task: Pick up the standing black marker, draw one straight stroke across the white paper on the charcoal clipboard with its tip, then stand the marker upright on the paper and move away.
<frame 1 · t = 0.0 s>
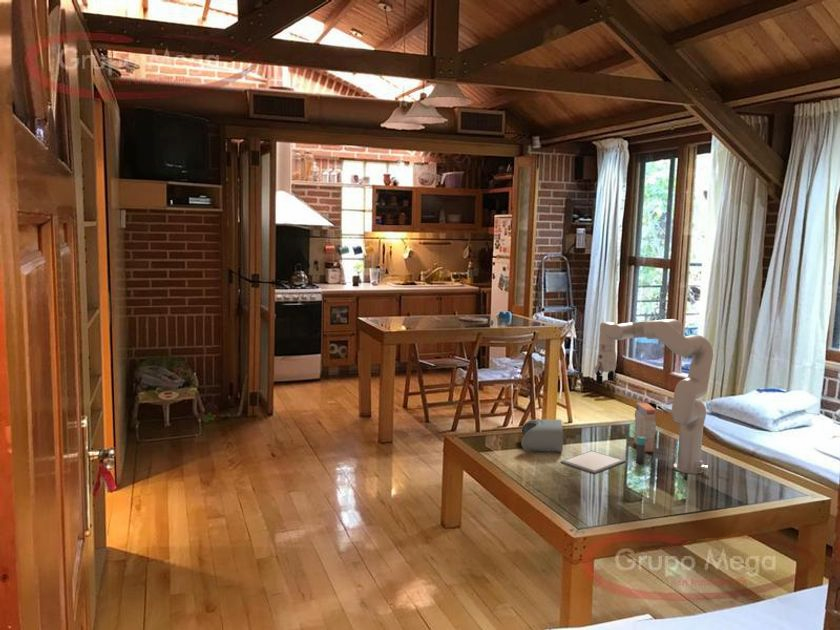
hand: (604, 382, 336), 31 cm above the table, tool pointing down, fingers open, 9 cm apart
notepad: (593, 462, 314), on the table
cracker box: (643, 448, 336), on the table
glass holder: (643, 433, 361), on the table
grey rounded block: (541, 448, 333), on the table
marker: (639, 463, 314), on the table
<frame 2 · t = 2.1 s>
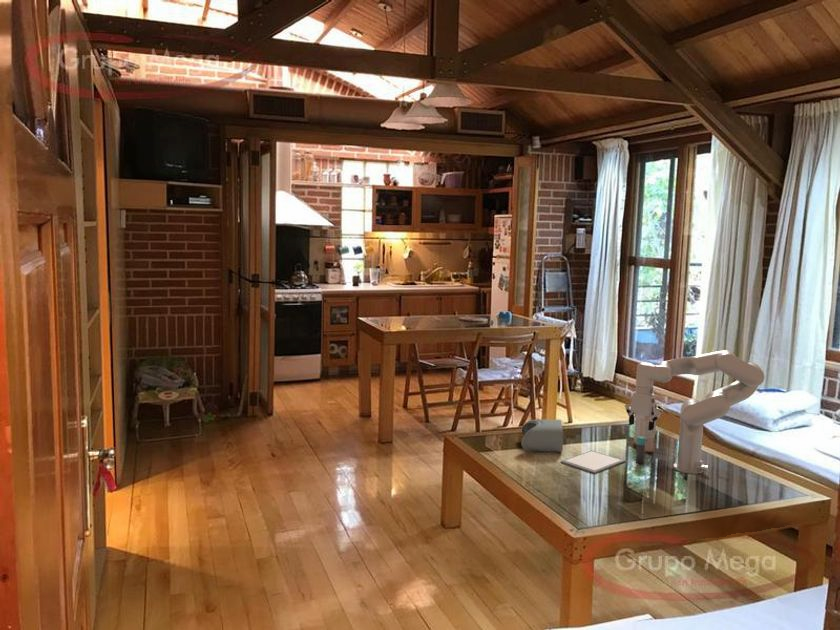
hand: (641, 427, 312), 17 cm above the table, tool pointing down, fingers open, 9 cm apart
nothing on the table moved.
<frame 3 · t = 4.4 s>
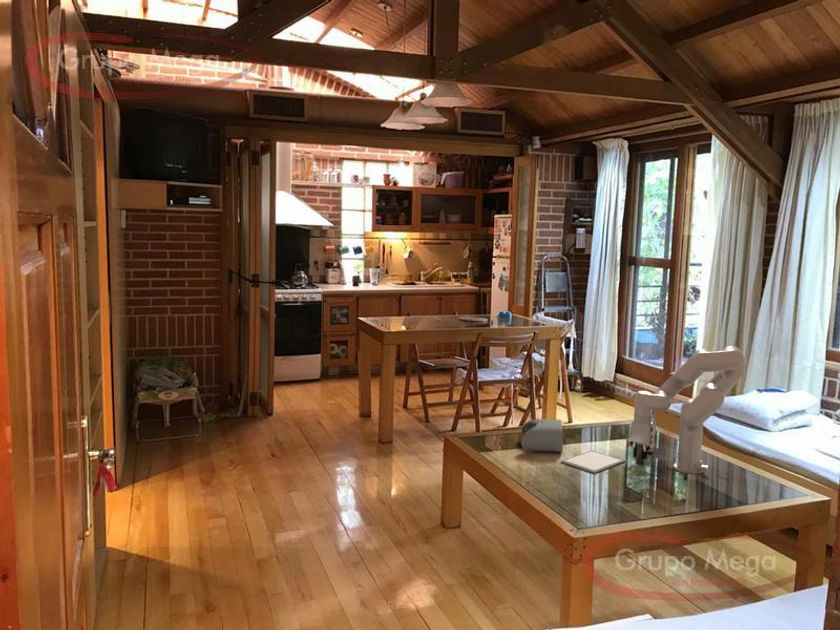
hand: (640, 457, 313), 3 cm above the table, tool pointing down, fingers closed on marker, 3 cm apart
marker: (639, 463, 314), on the table, touching gripper
everything else where it was.
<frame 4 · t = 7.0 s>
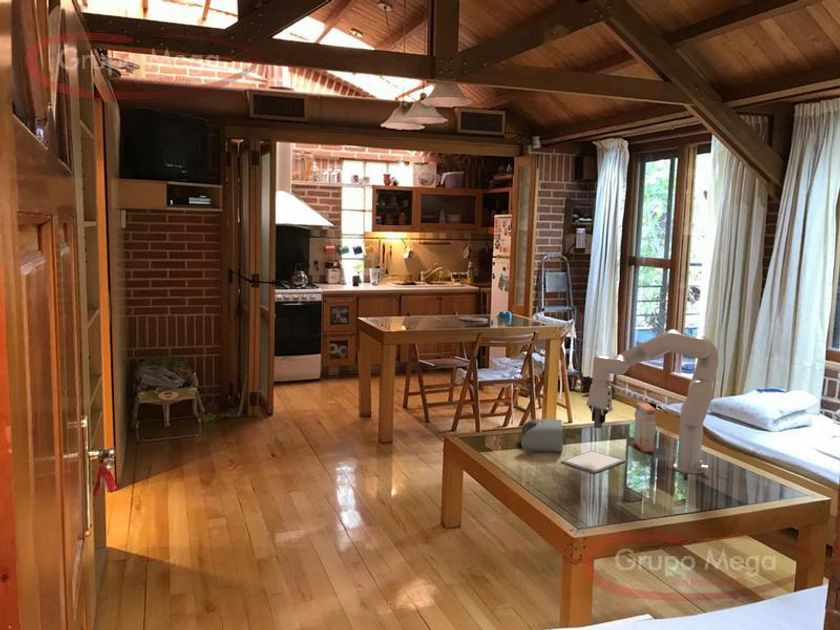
hand: (598, 421, 318), 17 cm above the table, tool pointing down, fingers closed on marker, 3 cm apart
marker: (597, 427, 319), point 15 cm above the table, touching gripper
everything else where it was.
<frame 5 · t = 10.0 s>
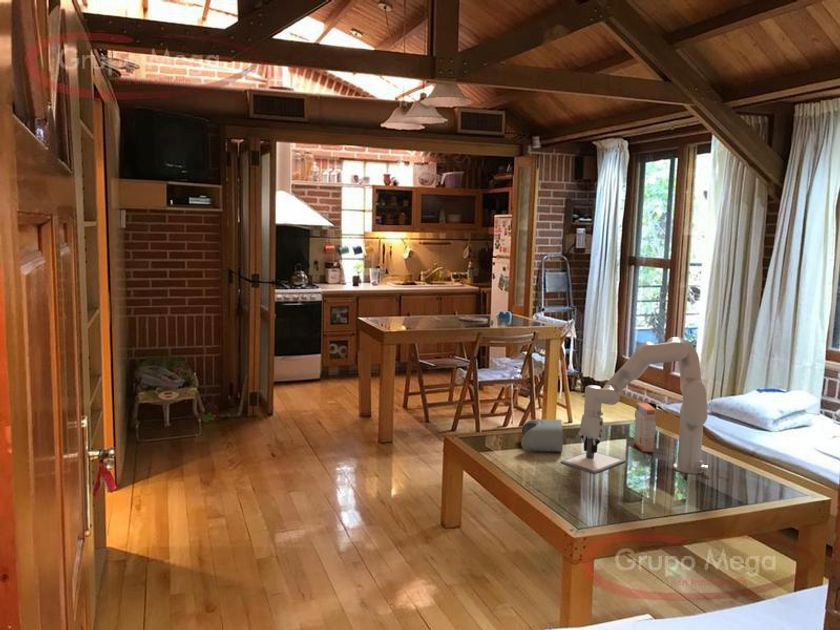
hand: (590, 451, 317), 4 cm above the table, tool pointing down, fingers closed on marker, 3 cm apart
marker: (590, 456, 317), point 1 cm above the table, touching gripper
everything else where it was.
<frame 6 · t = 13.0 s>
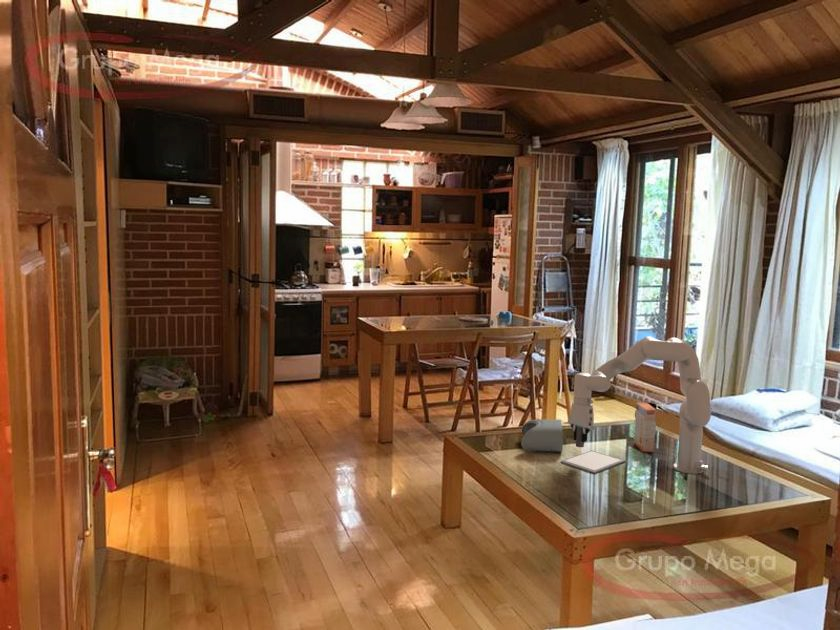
hand: (580, 440, 310), 11 cm above the table, tool pointing down, fingers closed on marker, 3 cm apart
marker: (579, 446, 310), point 8 cm above the table, touching gripper
everything else where it was.
when the fingers open (5 cm above the table, at t = 15.6 s): marker stays where it is, resting on notepad.
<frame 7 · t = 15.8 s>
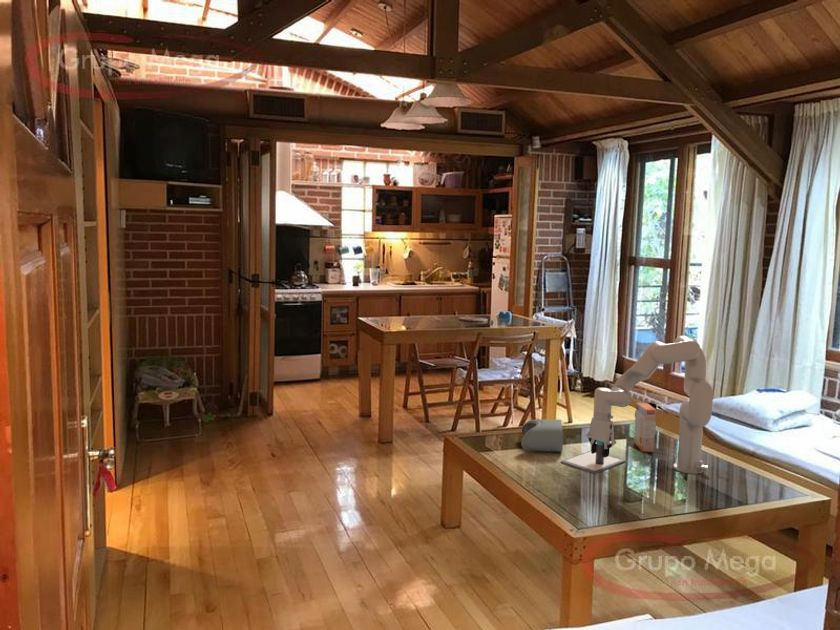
hand: (599, 454, 309), 5 cm above the table, tool pointing down, fingers open, 5 cm apart
marker: (599, 463, 310), point 1 cm above the table, touching notepad
everything else where it was.
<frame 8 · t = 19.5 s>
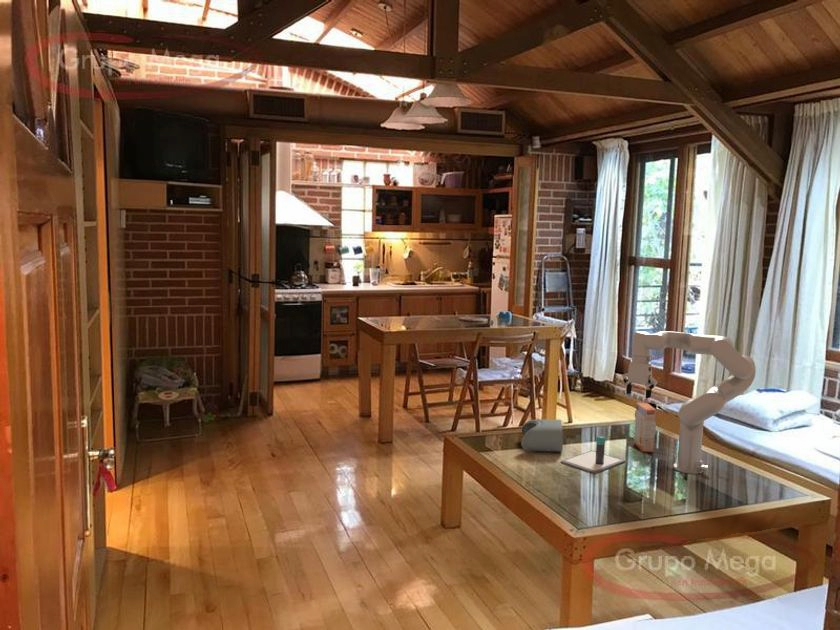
hand: (638, 395, 314), 30 cm above the table, tool pointing down, fingers open, 9 cm apart
nothing on the table moved.
at the end: marker inside the target area on the notepad (0.0 cm from its centre), point 1.0 cm above the notepad's base; marker tilted 0°; the gripper is holding nothing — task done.
